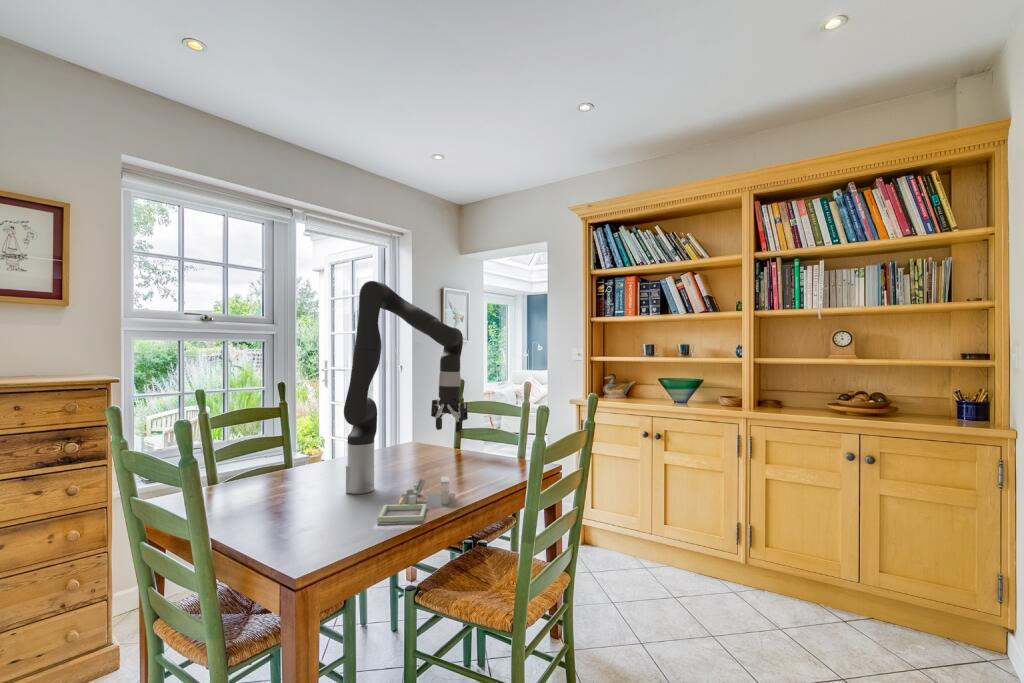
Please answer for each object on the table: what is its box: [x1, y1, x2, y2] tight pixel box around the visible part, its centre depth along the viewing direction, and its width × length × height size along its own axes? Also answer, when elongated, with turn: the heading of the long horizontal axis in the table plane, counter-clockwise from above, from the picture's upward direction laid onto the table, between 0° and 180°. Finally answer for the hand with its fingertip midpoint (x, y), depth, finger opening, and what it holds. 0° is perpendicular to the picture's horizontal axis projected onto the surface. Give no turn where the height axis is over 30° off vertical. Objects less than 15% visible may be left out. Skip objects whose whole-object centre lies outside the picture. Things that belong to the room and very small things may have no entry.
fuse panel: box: [397, 483, 456, 509], centre depth 161 cm, size 18×14×5 cm
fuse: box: [440, 476, 451, 503], centre depth 161 cm, size 3×6×7 cm, turn 5°
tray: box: [376, 503, 427, 527], centre depth 147 cm, size 13×11×2 cm
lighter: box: [403, 478, 426, 504], centre depth 160 cm, size 7×2×8 cm, turn 124°
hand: (448, 430), depth 170 cm, fingers open, 8 cm apart
